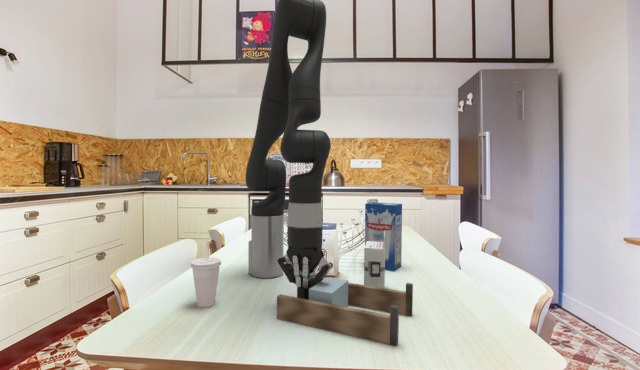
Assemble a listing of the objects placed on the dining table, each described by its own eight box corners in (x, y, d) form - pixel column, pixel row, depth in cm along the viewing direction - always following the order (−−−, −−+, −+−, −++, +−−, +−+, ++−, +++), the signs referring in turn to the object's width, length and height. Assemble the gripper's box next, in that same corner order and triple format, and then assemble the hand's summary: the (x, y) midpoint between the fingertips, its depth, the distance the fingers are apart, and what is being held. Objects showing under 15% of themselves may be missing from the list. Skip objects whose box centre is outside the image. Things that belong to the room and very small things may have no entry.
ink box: (365, 285, 87) (366, 229, 87) (384, 286, 86) (385, 229, 86) (363, 296, 79) (363, 234, 78) (384, 298, 78) (385, 235, 77)
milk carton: (401, 266, 105) (402, 203, 104) (394, 271, 100) (395, 205, 99) (372, 262, 110) (372, 202, 110) (364, 266, 105) (365, 203, 104)
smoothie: (227, 300, 75) (227, 239, 75) (208, 311, 69) (208, 245, 69) (203, 297, 77) (203, 237, 77) (184, 307, 71) (183, 243, 71)
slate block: (308, 319, 66) (308, 289, 66) (326, 303, 74) (327, 277, 74) (331, 324, 64) (331, 293, 64) (347, 307, 72) (348, 280, 72)
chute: (276, 318, 66) (276, 286, 66) (309, 295, 79) (310, 268, 79) (396, 346, 56) (397, 308, 56) (412, 314, 69) (412, 283, 69)
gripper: (269, 223, 71) (268, 303, 71) (325, 228, 65) (324, 316, 65) (287, 219, 77) (287, 292, 78) (340, 223, 71) (339, 303, 72)
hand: (304, 303), depth 72 cm, fingers closed
